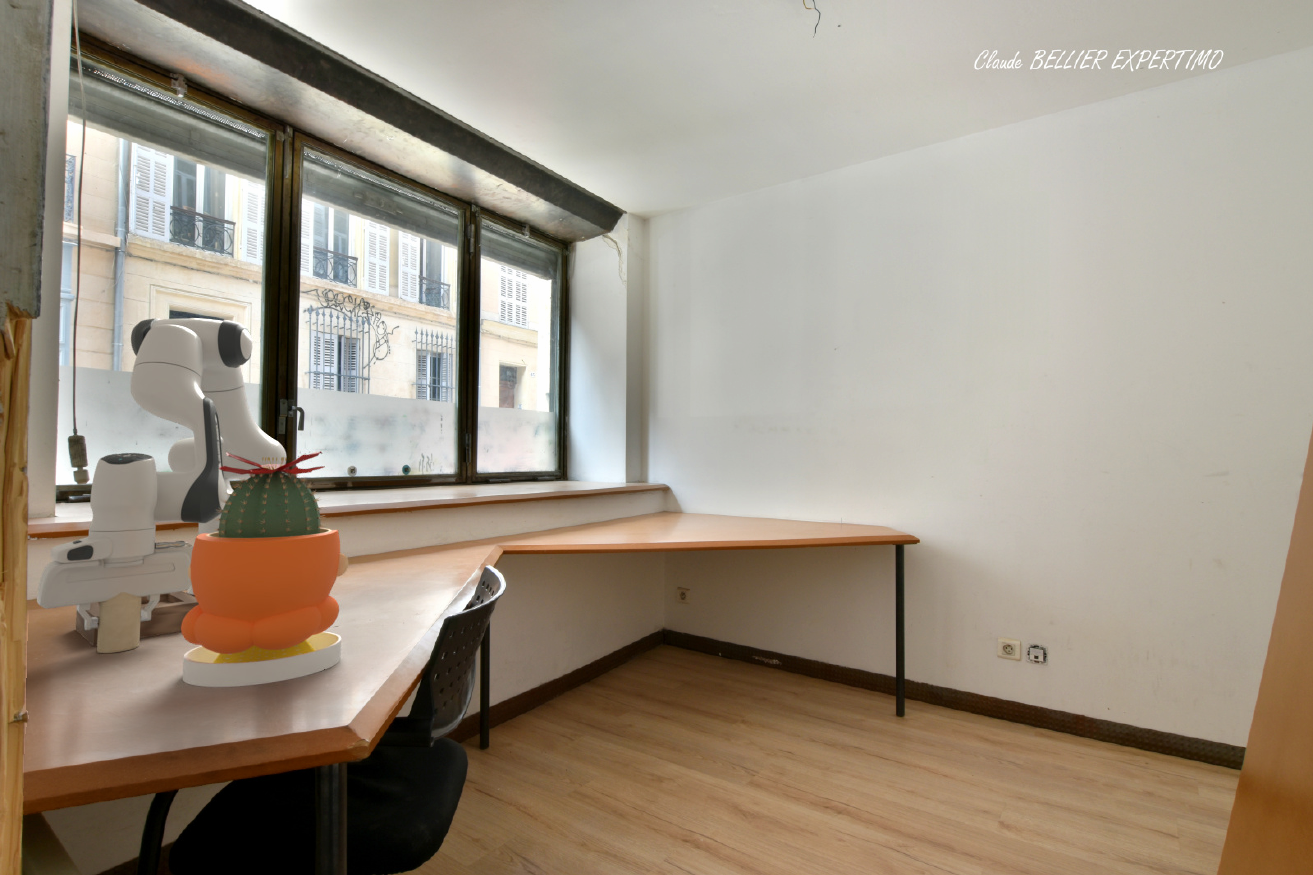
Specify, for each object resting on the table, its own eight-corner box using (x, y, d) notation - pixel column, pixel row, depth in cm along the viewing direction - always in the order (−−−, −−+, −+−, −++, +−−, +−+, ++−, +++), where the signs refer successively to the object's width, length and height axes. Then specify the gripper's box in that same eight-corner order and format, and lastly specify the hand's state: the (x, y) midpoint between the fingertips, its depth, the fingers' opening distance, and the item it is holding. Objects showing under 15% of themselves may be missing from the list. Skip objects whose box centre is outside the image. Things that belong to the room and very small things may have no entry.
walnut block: (178, 615, 128) (179, 589, 128) (202, 629, 118) (204, 601, 119) (75, 631, 115) (77, 602, 116) (93, 648, 106) (95, 616, 106)
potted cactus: (199, 658, 100) (209, 449, 101) (348, 644, 109) (356, 452, 110) (150, 707, 80) (163, 447, 82) (337, 685, 89) (346, 450, 90)
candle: (141, 648, 104) (143, 591, 105) (98, 655, 100) (101, 595, 101) (137, 641, 108) (139, 586, 109) (95, 648, 104) (98, 590, 105)
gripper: (189, 538, 115) (185, 610, 115) (37, 549, 99) (32, 633, 99) (199, 541, 112) (196, 616, 111) (44, 553, 95) (39, 641, 95)
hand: (118, 624), depth 105 cm, fingers open, 6 cm apart
